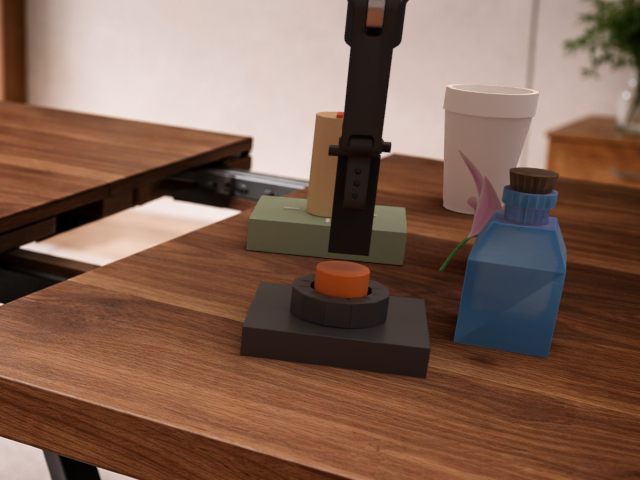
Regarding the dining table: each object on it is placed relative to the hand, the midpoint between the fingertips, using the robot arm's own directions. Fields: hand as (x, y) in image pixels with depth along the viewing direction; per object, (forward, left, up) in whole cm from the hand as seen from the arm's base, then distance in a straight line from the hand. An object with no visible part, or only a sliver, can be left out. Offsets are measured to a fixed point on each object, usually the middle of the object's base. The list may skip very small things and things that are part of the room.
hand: (348, 251), depth 64 cm
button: (0, 0, -3) cm, 3 cm away
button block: (0, 0, -7) cm, 7 cm away
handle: (+2, -26, -4) cm, 26 cm away
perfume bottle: (-12, -5, -7) cm, 14 cm away
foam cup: (-13, -47, -7) cm, 49 cm away
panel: (+2, -26, -7) cm, 27 cm away
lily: (-12, -21, -7) cm, 25 cm away
